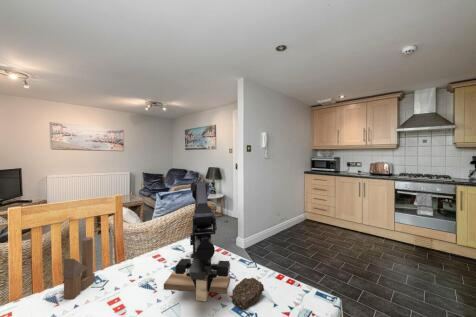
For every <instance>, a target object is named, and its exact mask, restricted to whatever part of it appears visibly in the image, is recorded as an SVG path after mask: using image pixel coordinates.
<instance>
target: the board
mask: <svg viewBox="0 0 476 317" xmlns="http://www.w3.org/2000/svg"><path fill="white" fill-rule="evenodd" d="M186 274H187V271H186V272H185V273H184V274H176V273H175V270H173V271H172V272H171V273H170V274H169V276H168V277H167V279H166V280H165V281H164V283H163V290H168V291H169V290H171V291H185V292H187V291H188V292H196V288H195V285H194V283H193V280H192V279H191V278H190V277H189V276H186ZM230 281H231V274H230V273H229V274H228V276H227V277H223V276H218V275H217V277H216V278H213V280H212V283H211V287H210V292H209V293H214V294H215V293H217V294H227V293H228V288H229V285H230Z"/></svg>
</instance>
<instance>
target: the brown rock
mask: <svg viewBox="0 0 476 317" xmlns="http://www.w3.org/2000/svg"><path fill="white" fill-rule="evenodd" d="M231 291H232V292H231V293H232V294H231V302H232V304H234V305H236V306H238V307H239V309H243V310H244V309H246V308H249V307H250V306H251V305H252V304H254V303H256V302H258V300H259V298H261V297H260V296H262V293H263V292H264V291H265V287H264V284H263V283H262V281H259V280H258V279H256V278H255V277H253V276H252V277H250V278H246V277H244V278H242V279H241V281H240V282H238V283H237V284H236V285H235V286H234V288H233V289H232V290H231Z"/></svg>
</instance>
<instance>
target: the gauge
mask: <svg viewBox="0 0 476 317" xmlns="http://www.w3.org/2000/svg"><path fill="white" fill-rule="evenodd" d="M207 287H208V275H207V276H205V278H204V279H203V280H199V279H197V280H196V291H195V301H196V302H207V300H208V297H209V295H210V293H211V292H210V290H209V292H207Z"/></svg>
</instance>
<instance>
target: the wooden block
mask: <svg viewBox="0 0 476 317" xmlns="http://www.w3.org/2000/svg"><path fill="white" fill-rule="evenodd" d="M93 265H94V238H93V236H87V237H84V238H82V239H81V262H80V261H78V260H77V259H75V258H63V299H64V300H73V299H75V298H76V297H78V296H79V295H80V294H81V292H82V291H83V290H86V289H87V288H89V287H90V286H91V285H92V284H93V283H95V280H96V279H95V278H96V277H95V275H96V274H95V272H94V266H93Z"/></svg>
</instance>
